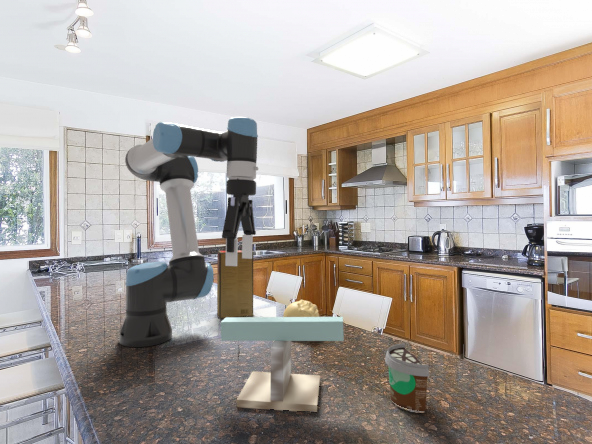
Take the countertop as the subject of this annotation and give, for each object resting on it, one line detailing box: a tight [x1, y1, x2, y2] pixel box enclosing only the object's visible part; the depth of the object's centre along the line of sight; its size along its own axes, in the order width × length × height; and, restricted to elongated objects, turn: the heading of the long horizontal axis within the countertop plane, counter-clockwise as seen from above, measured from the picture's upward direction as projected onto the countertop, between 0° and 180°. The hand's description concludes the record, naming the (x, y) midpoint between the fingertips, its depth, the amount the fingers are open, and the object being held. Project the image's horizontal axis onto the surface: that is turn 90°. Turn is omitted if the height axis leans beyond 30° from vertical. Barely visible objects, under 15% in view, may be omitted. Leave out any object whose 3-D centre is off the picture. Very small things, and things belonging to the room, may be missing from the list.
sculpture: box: [282, 299, 320, 317], centre depth 116 cm, size 12×12×11 cm
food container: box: [384, 343, 430, 412], centre depth 72 cm, size 12×6×10 cm, turn 5°
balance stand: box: [236, 341, 321, 413], centre depth 75 cm, size 16×13×12 cm
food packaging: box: [216, 249, 254, 320], centre depth 137 cm, size 13×9×25 cm
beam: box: [220, 316, 345, 342], centre depth 75 cm, size 26×4×4 cm, turn 83°
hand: (239, 262), depth 90 cm, fingers open, 13 cm apart
